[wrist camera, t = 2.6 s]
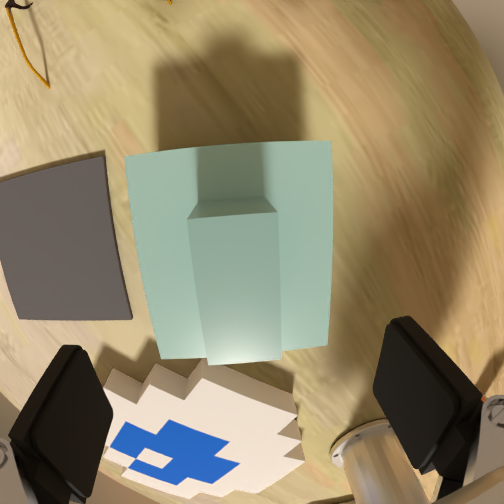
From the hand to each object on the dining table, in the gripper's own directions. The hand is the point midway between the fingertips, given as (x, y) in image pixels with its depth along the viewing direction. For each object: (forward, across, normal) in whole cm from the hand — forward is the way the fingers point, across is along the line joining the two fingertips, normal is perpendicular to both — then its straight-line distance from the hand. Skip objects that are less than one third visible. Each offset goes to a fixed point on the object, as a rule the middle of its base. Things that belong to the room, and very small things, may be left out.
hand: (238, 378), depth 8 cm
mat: (+19, +19, +1) cm, 27 cm away
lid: (+12, 0, +1) cm, 12 cm away
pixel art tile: (+19, +8, +29) cm, 35 cm away
